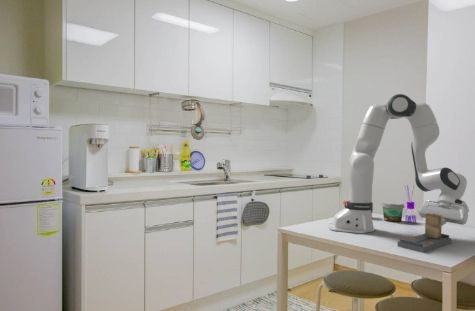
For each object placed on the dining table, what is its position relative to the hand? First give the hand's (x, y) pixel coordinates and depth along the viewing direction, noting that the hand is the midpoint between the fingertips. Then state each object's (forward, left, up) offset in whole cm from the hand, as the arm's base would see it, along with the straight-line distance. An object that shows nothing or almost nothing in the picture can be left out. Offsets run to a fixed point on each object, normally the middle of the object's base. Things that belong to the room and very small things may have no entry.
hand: (436, 227), depth 169 cm
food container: (-9, +38, -7) cm, 39 cm away
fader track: (-7, -7, -6) cm, 12 cm away
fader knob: (-2, -2, -4) cm, 5 cm away
